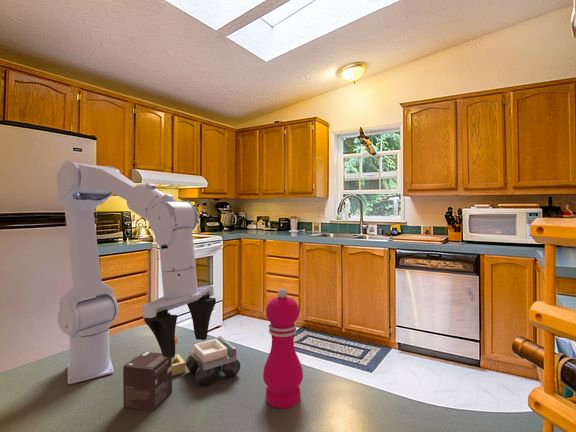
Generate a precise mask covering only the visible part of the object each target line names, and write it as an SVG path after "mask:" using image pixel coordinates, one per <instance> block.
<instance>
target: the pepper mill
mask: <svg viewBox="0 0 576 432" xmlns="http://www.w3.org/2000/svg"><path fill="white" fill-rule="evenodd" d="M299 315H300V308H299V304H298V303H297V301H296V300H294V298H291V297H289V296H288V291H287V289H286V288H283V287H282V288H279V289H278V291H277V296H276V297H274V298H271V299H270V300H269V302H268V304H266V309H265V316H266V319H267V320H268V321H269V324H268V328H269V329H268V333H269V334H270V335H271V347H270V351H269V353H268V356H267V359H266V361H265V364H264V365H263V366H264V367H263V371H262V372H263V373H262V378H263V382H264V383H265V385H266V388H265V399H266V402H267V404H268V405H270V406H271V407H273V408H276V409H289V408H293V407H294V406H297V405H298V404H299V402H300V400H301V387H300V385H301V383H302V381H303V378H304V373H303V372H304V371H303V366H302V362H301V361H300V359H299V357H298V355H297V352H296V349H295V340H294V339H295V335H296V333H297V330H298V329H297V323H296V321H297V320H298V318H299Z"/></svg>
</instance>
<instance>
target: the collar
mask: <svg viewBox="0 0 576 432" xmlns="http://www.w3.org/2000/svg"><path fill="white" fill-rule="evenodd" d="M186 371H187V370H186V360H184V358H182V356H181V355H180V354H179V353H176V363H175V364H172V377H173V376H176V375H180V374H182V373H183V374H184V373H186Z"/></svg>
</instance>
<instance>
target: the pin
mask: <svg viewBox="0 0 576 432" xmlns="http://www.w3.org/2000/svg"><path fill="white" fill-rule="evenodd" d="M178 340H179V337H178V336H176V335H175V356H174V357H171V361H172V364H175V363H176V354H177V346H176V345H177V344H178V342H179V341H178Z"/></svg>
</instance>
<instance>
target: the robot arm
mask: <svg viewBox="0 0 576 432" xmlns="http://www.w3.org/2000/svg"><path fill="white" fill-rule="evenodd" d="M55 177H56V178H55V179H56V187H57V197H58V203H59V204H60V205H62V206H63V207H64V216H65V224H66V234H67V240H68V241H67V243H68V251H69V252H68V253H69V260H70V261H69V262H70V268H71V269H70V270H71V277H72V278H71V279H72V287H70V289H68V290H67V292H65V293H64V294H63V295H62V296H61V297H60V298H59V301H58V302H59V303H58V304H59V305H58V306H59V307H58V308H59V309H58V313H57V324H58V327H59V329H60V330H61V332H62V333H64V334H65V335H67V336H69V337H68V338H69V340H68V341H69V343H68V344H69V363H68V364H67V384H68V385H73V384H77V383H79V382H80V383H81V382H85V381H88V380H91V379H96V378H100V377H103V376H107V375H110V374H111V375H112V374H113V373H115V371H114V367H113V363H112V360H111V356H110V355H111V354H110V327H113V322H114V321H115V320H116V319H117V317H118V313H119V304H118V301H117V299H116V297H115V293H114V288H113V287H111V286H109V285H107V284H106V283H104V282H103V281H102V275H101V265H100V255H99V249H98V240H97V239H98V238H97V229H96V220H95V213H94V212H95V210H96V208H97V207H99V206H101V205H104V204H105V202H106V201H107V200H108V199H110V198H111V197H112V196H113V195H115V196H117V197H119V198H122V199H123V200H125V201H126V205H127V208H128V209H129V211H132V213H134V214H136V215H138V216H139V217H141V218H142V219H144V220H145V221H147V222H148V225H149V227H150V228H149V229H150V230H151V231H152V233H153V234H154V241H155V243H156V245H158V248H159V259H160V269H161V283H162V291H163V296H162V297H159V298H158V299H155V300H153V301H150V302H148V303H145V304H142V305H141V310H142V312H141V313H142V318H143V321H144V324H146V325H147V326H148V327H149V329H150V331H151V332H152V334H153V335H154V338H155V339H156V342H157V344H158V346H159V348H160V351H161V352H160V353H162V354H163V357H170V358H171V357H174V356H175V336H176V326H177V320H178V315H177V314H171V312H169V311H171V310H174V309H177V308H180V307H183V306H186V305H187V308H188V309H189V312H190V315H191V320H192V325H193V333H194V338H195V340H197V341H198V340H199V341H207V338H208V332H209V326H210V320H211V316H212V313H213V310H214V308H215V306H216V303H217V299H216V297H214V295H215V292H214V286H213V285H204V286H203V285H202V286H199V287H198V280H197V268H196V267H197V266H196V257H195V248H194V247H195V246H194V234H193V231H194V230H195V228H196V226H197V225H198V220H199V214H198V211H197V208H196V207H195V206H194V204H192V203H191V202H190V201H189V200H181V201H177V200H176V199H174V196H173V195H172V194H170V193H169V194H168V193H164V192H162V191H161V190H159V189H157V187H158V186H157V185H156V184H154V183H151V182H150V183H148V182H146V183H141V184H140V183H139V184H136V183H135V182H134V181H133V180H130V179H129V178H128V177H126V176H125V175H123V174H122V173H121V171H120V169H118V168H115V167H114V166H111V165H108V166H103V165H96V164H88V163H81V162H80V163H79V162H74V161H71V160H70V161H69V160H68V161H67V160H66V161H65V162H63V163H62V164H61V166H60V167H59V170H58V172H57V174H56V175H55Z"/></svg>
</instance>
